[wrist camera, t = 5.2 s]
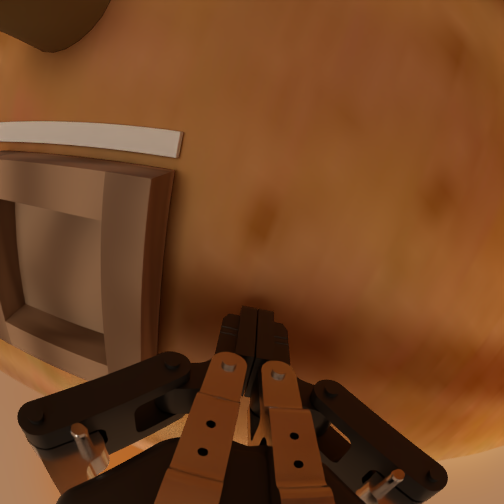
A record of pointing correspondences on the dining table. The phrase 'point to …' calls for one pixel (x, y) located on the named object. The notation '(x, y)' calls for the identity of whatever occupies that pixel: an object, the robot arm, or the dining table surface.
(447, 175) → the dining table surface
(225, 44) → the dining table surface
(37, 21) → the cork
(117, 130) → the backstop
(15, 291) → the socket block
